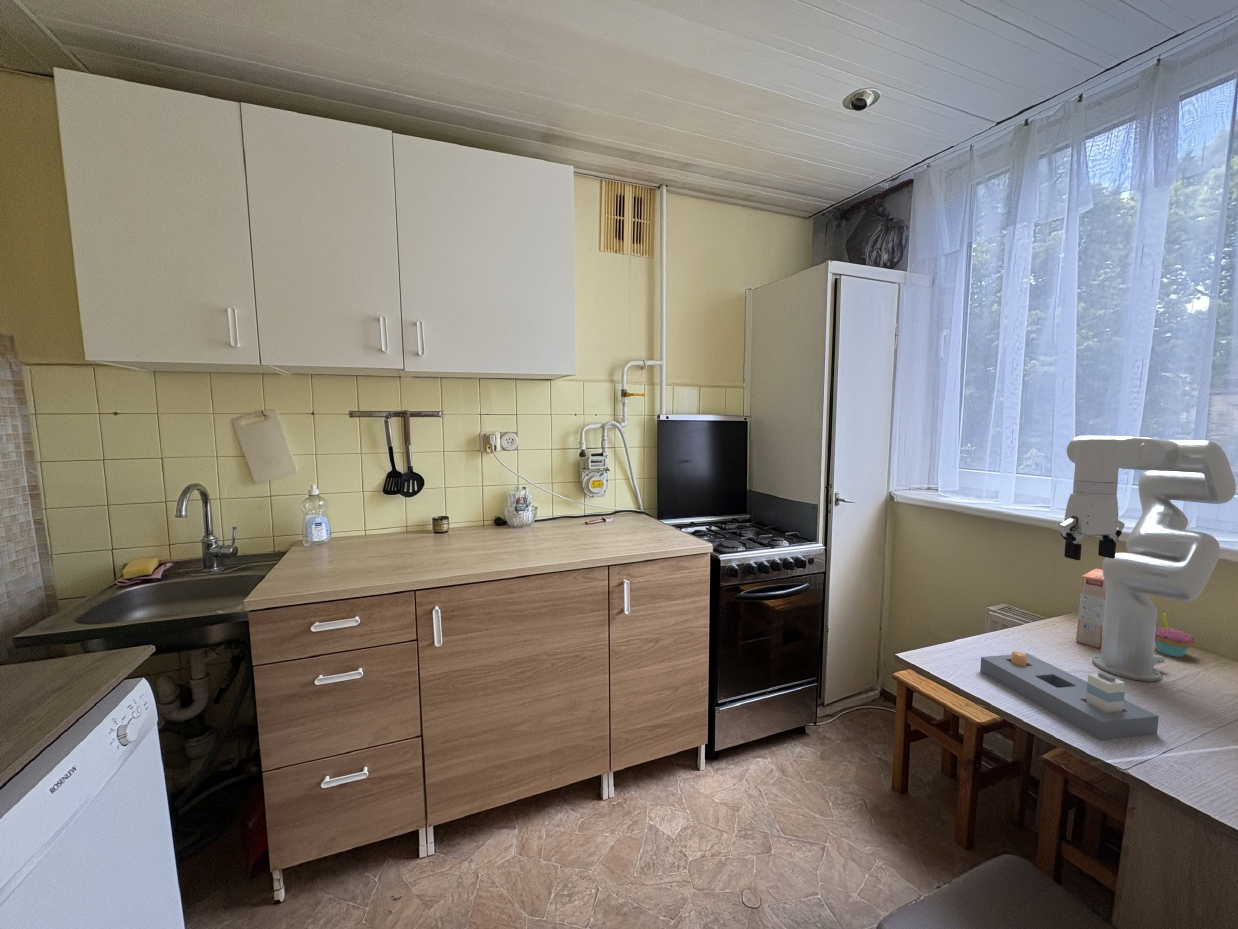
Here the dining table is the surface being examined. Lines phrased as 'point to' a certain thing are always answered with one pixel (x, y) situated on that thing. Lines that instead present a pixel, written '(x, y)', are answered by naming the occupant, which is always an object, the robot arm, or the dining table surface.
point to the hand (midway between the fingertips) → (1089, 557)
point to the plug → (1105, 692)
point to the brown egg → (1019, 659)
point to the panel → (1068, 698)
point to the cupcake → (1172, 640)
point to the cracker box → (1091, 609)
